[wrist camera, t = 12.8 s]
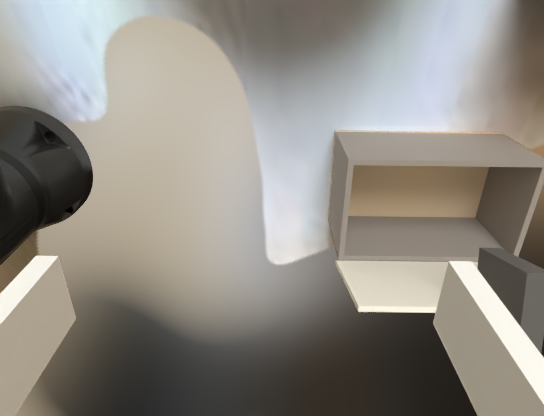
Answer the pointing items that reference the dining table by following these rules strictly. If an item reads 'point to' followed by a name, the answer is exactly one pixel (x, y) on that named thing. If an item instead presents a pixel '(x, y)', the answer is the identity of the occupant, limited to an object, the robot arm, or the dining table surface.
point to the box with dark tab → (429, 279)
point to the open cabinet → (430, 194)
